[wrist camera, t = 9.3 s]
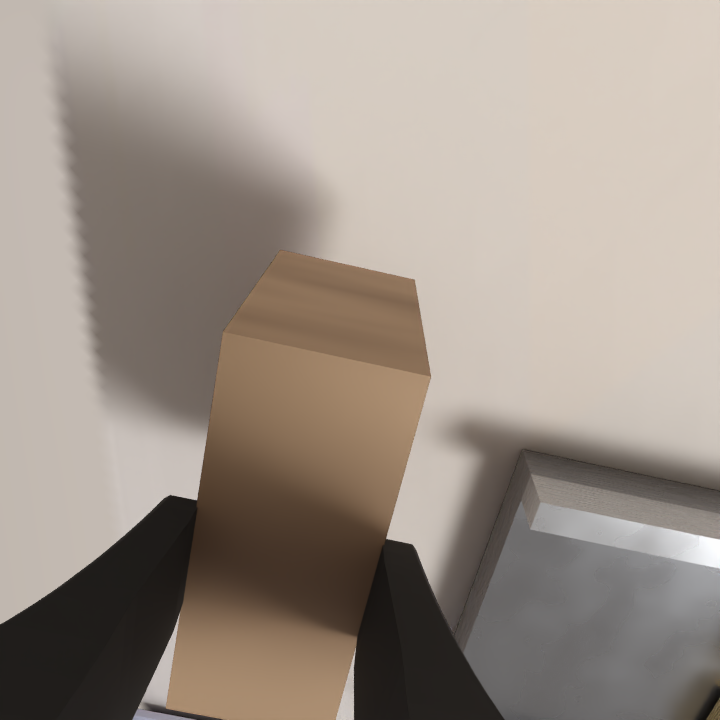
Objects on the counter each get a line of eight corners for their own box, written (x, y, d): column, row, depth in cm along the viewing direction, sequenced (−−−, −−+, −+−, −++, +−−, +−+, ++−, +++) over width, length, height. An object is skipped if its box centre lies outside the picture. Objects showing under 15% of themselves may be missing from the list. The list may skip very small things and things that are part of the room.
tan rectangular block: (346, 548, 20) (330, 739, 14) (231, 524, 20) (165, 708, 14) (414, 279, 17) (430, 376, 11) (280, 249, 17) (222, 331, 11)
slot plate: (657, 759, 28) (686, 834, 25) (425, 715, 28) (429, 786, 25) (804, 509, 23) (861, 569, 20) (522, 449, 23) (540, 502, 20)
